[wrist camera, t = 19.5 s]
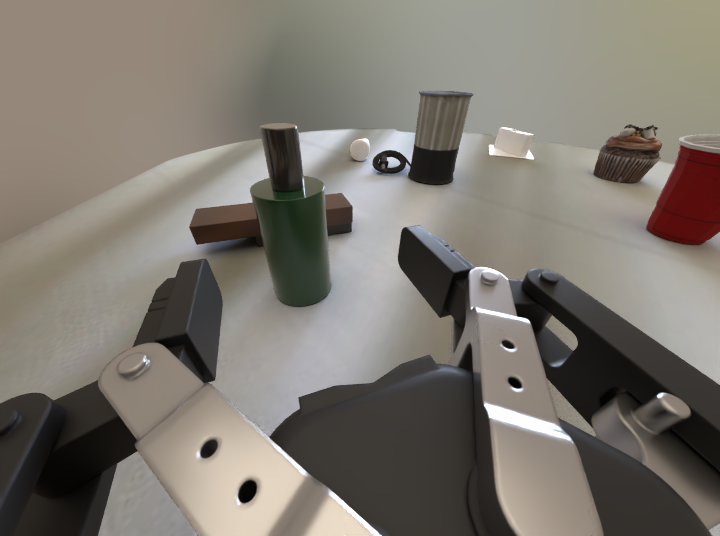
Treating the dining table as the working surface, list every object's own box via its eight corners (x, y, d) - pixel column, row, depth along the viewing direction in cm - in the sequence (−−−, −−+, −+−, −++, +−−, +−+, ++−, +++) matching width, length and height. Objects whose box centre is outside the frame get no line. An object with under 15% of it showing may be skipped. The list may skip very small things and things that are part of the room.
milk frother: (461, 184, 50) (485, 93, 41) (383, 187, 48) (391, 92, 39) (432, 164, 61) (446, 89, 52) (368, 166, 59) (371, 88, 50)
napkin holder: (535, 159, 67) (545, 135, 64) (489, 154, 70) (496, 131, 67) (527, 148, 78) (535, 127, 75) (488, 144, 82) (494, 124, 78)
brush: (201, 257, 29) (188, 227, 27) (206, 236, 32) (195, 208, 30) (352, 233, 34) (352, 206, 32) (342, 218, 37) (341, 192, 35)
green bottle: (277, 312, 22) (232, 134, 14) (273, 276, 26) (235, 121, 18) (337, 299, 24) (329, 131, 15) (324, 266, 28) (312, 119, 19)
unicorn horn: (378, 142, 81) (379, 125, 78) (368, 162, 62) (369, 141, 59) (363, 141, 81) (363, 124, 78) (349, 161, 63) (349, 140, 60)
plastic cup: (604, 214, 40) (660, 128, 33) (683, 220, 39) (759, 132, 32) (656, 250, 32) (745, 146, 24) (759, 260, 30) (886, 152, 23)
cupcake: (592, 179, 54) (622, 126, 48) (585, 168, 61) (611, 120, 55) (650, 187, 51) (690, 131, 45) (636, 174, 58) (669, 124, 52)
